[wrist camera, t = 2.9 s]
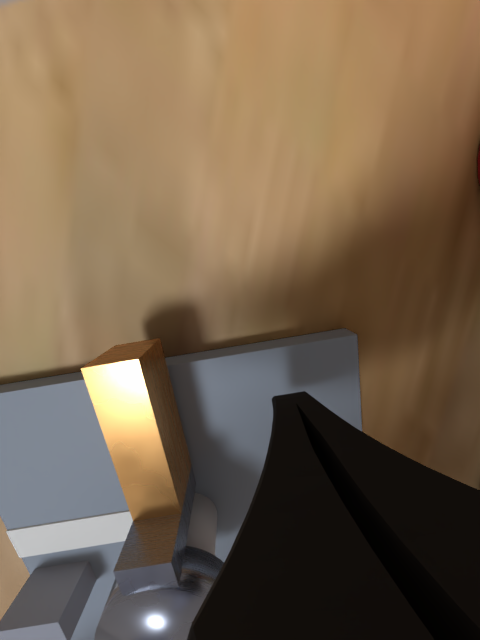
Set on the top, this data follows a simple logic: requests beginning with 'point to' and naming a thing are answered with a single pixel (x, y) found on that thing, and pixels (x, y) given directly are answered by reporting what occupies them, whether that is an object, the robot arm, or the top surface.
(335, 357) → the base
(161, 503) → the lever handle
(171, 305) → the top surface
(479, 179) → the canned food
